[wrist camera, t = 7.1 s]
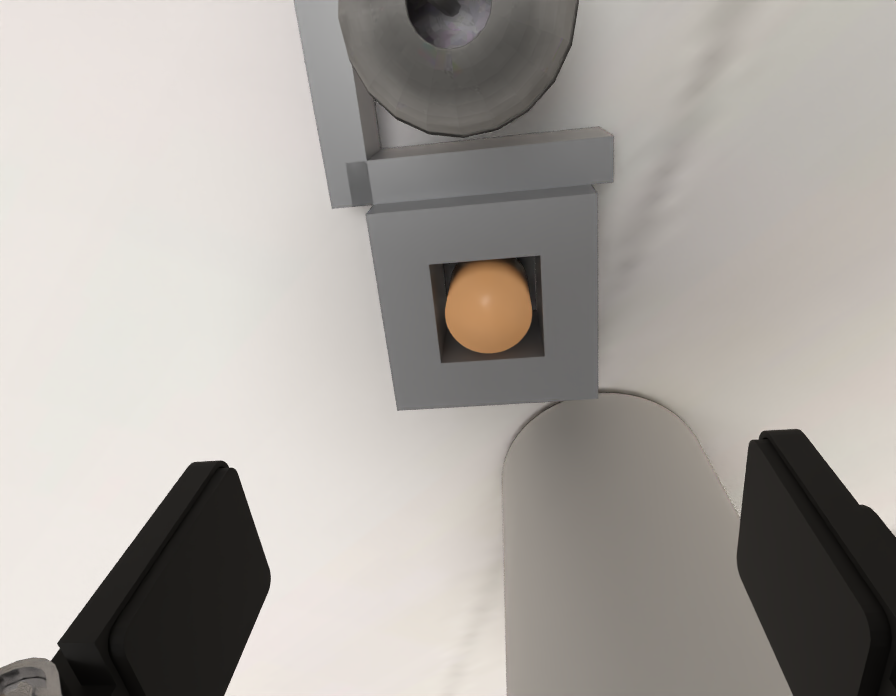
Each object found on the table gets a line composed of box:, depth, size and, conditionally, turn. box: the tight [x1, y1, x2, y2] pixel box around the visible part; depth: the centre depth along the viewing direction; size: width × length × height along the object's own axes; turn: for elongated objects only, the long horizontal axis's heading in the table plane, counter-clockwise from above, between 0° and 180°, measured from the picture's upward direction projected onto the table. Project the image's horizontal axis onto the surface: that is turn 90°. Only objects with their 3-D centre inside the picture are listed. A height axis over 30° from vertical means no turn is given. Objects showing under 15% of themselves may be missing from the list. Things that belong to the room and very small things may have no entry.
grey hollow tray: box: [294, 0, 614, 411], centre depth 28 cm, size 13×24×6 cm, turn 6°
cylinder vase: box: [502, 393, 793, 696], centre depth 28 cm, size 12×12×25 cm
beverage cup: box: [338, 0, 579, 138], centre depth 20 cm, size 7×7×20 cm
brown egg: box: [445, 258, 532, 353], centre depth 30 cm, size 4×4×4 cm
